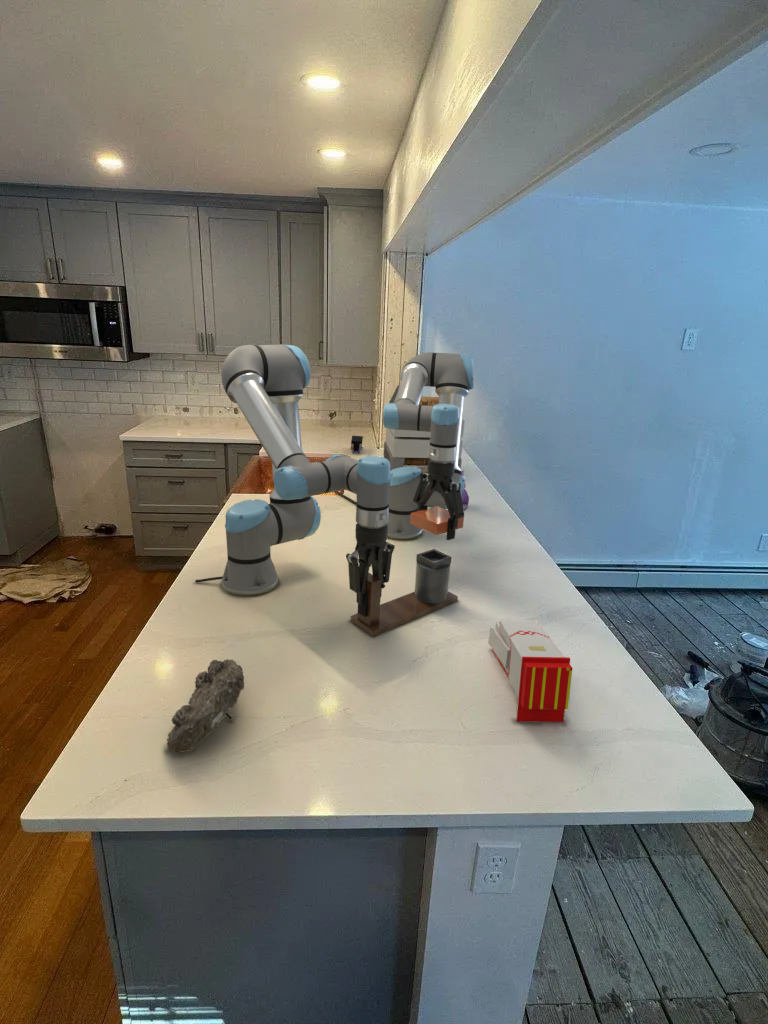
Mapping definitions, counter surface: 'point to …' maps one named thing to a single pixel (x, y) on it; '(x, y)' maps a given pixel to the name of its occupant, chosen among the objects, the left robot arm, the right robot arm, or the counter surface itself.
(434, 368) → the right robot arm
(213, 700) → the fossil
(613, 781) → the counter surface
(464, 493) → the figurine
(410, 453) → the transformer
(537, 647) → the toy
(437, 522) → the orange square block
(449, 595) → the caddy
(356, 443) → the figurine character
